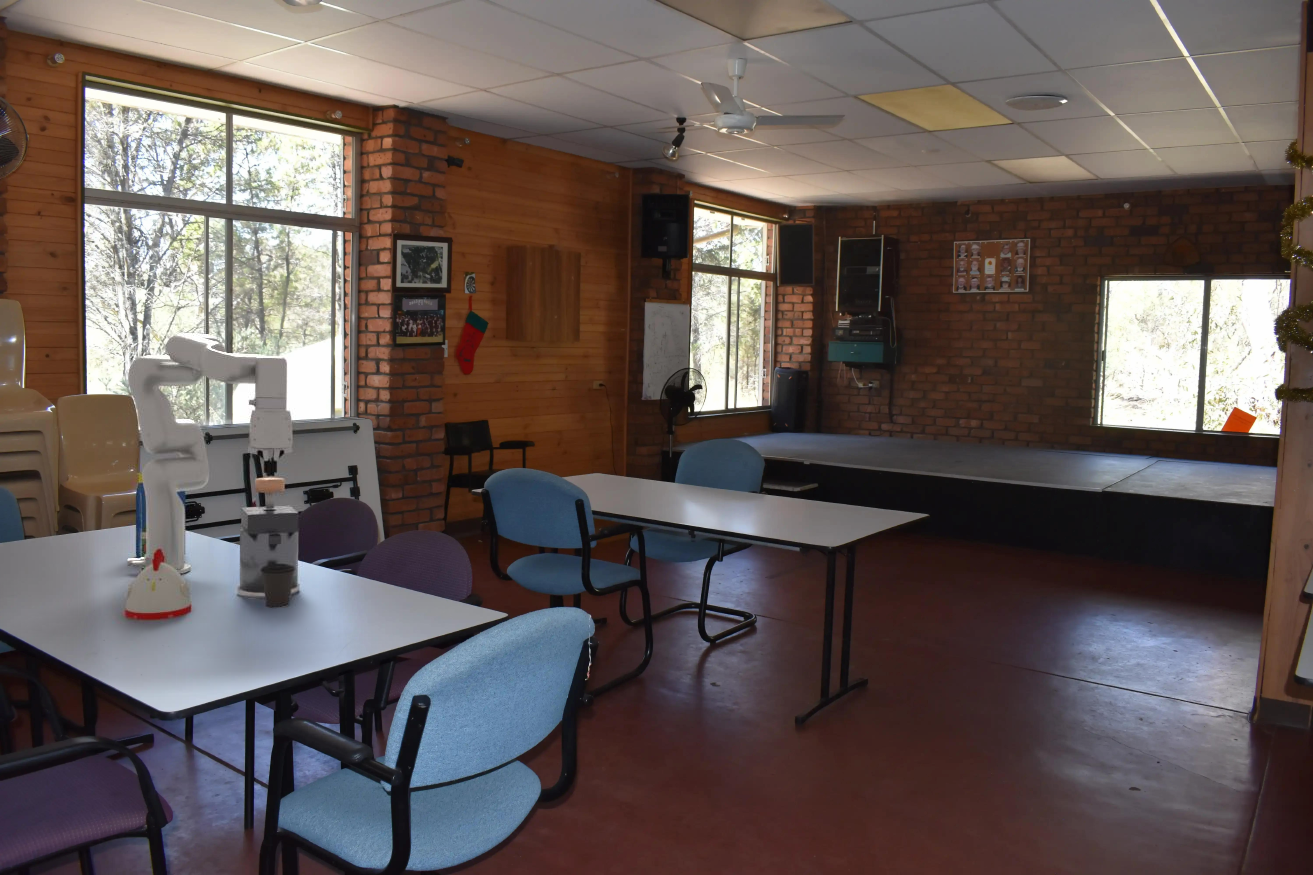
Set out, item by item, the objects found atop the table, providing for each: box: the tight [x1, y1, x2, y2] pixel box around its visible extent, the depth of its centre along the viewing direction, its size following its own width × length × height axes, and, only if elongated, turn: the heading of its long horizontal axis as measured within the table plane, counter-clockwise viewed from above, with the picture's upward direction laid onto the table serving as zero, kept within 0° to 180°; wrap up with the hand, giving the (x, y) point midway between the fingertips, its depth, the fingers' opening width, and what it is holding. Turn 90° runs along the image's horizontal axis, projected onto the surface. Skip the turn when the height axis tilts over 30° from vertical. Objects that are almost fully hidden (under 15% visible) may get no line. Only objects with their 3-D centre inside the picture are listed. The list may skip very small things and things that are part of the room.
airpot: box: [236, 505, 301, 600], centre depth 247 cm, size 15×18×22 cm
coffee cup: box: [260, 564, 295, 609], centre depth 237 cm, size 8×8×10 cm
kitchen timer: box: [124, 549, 192, 621], centre depth 226 cm, size 14×14×15 cm
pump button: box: [254, 477, 286, 509], centre depth 247 cm, size 7×7×8 cm
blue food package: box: [135, 473, 187, 559], centre depth 286 cm, size 6×12×25 cm, turn 133°
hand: (270, 475), depth 247 cm, fingers closed
